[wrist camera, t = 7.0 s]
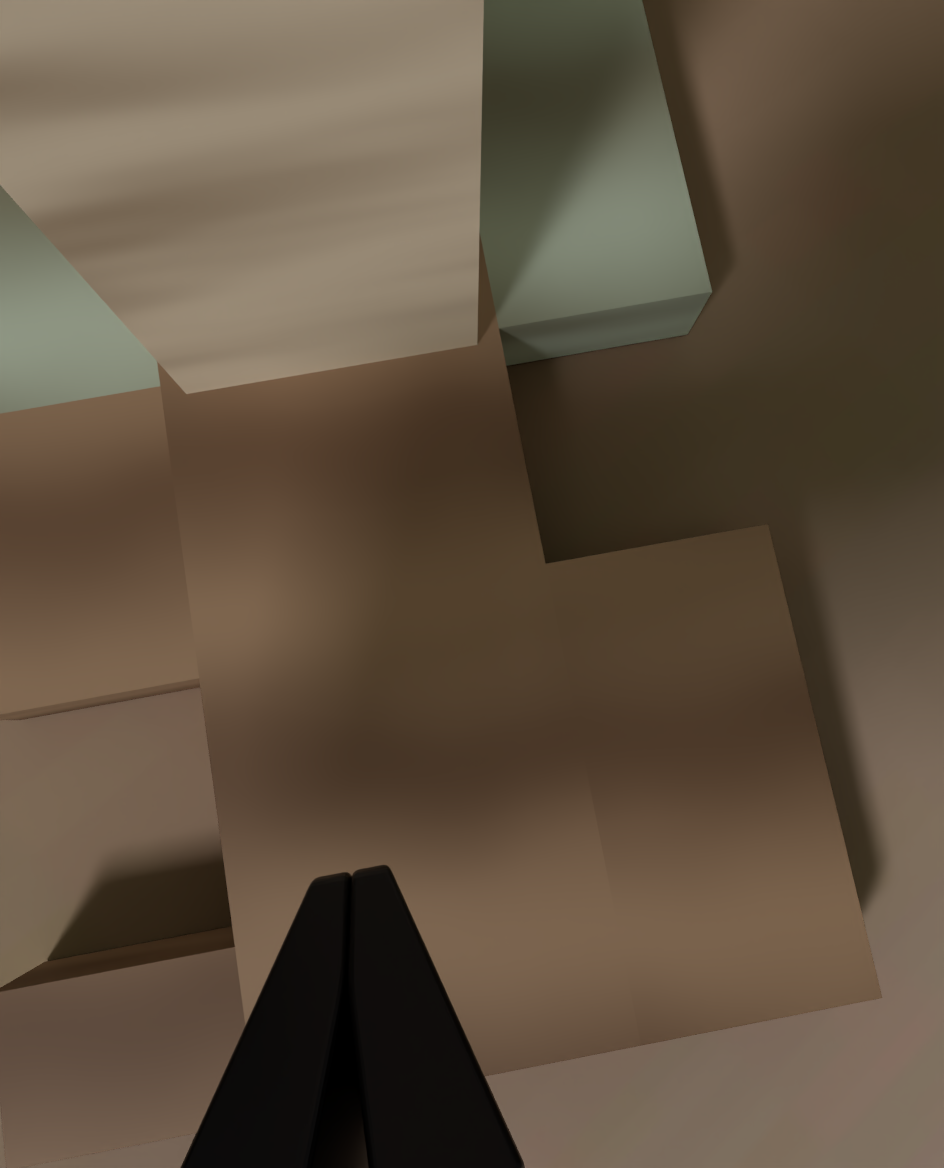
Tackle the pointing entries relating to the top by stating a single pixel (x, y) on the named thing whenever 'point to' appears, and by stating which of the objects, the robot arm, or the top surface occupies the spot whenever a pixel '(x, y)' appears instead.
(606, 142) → the trap runway
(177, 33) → the beech block
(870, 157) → the top surface
